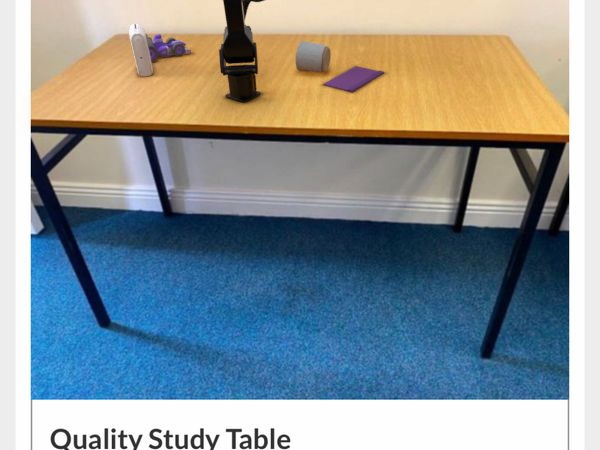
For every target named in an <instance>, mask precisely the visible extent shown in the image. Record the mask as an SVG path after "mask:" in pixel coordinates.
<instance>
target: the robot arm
mask: <svg viewBox="0 0 600 450" xmlns="http://www.w3.org/2000/svg"><path fill="white" fill-rule="evenodd" d="M222 1H223V8H224V15H225V22H226V23H225V24H226V26H225V27H224V32H223V34H222V35H223V38H222V43H221V44H220V48H219V50H218V54H219V55H218V56H219V57H218V58H219V69H220V74H222V76H227V81H228V90H229V93H226V94H225V98H226V99H227V98H228V99H231V100H234V101H237V102H239V103H246V102H249V101H250V100H253V99H255V98H257V97H258V96H260V95H262V93H261V91H258V90H257V89H258V87H257V79H256V75H258V74H259V62H258V61H259V60H258V47H257V45H258V44H257V42H256V41H255V42H254V36H253V31H252V27H251V26H250V25H246V22H245V21H246V17H247V13H248V9H249V5H250V4H251V2H252V3H261V2H264V1H266V0H222ZM253 63H254V64H253ZM227 64H228V65H227Z"/></svg>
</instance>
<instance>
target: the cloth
mask: <svg viewBox="0 0 600 450" xmlns="http://www.w3.org/2000/svg"><path fill="white" fill-rule="evenodd" d="M384 74H385V71H384V70H376V69H370V68H366V67H362V66H358V65H355V66H353V67H352V68H350V69H348V70H346V71H344V72H342V73H341V74H339V75H337V76H334V77H333V78H332V79H330V80H328V81H326V82H324V83H323V84H322V85H323V86H326V87H329V88H333V89H336V90H340V91H345V92H349V93H351V94H352V93H355V92H356V91H358V90H360V89H361V88H362V87H365V86H366V85H368V84H369V83H370V82H372V81H374V80H376V79H377V78H379V77H381V76H382V75H384Z"/></svg>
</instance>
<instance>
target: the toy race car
mask: <svg viewBox="0 0 600 450" xmlns="http://www.w3.org/2000/svg"><path fill="white" fill-rule="evenodd" d="M145 35H146V39H147V44H148V48H149V52H150V57H151V62H152V64H153V63H155V62H157V61H158V59H160V58H169V57H174V56H177V57H182V56H184V54H185V55H188V54H192V50H191V49H189V48H187V47H186V46H187V43H186V42H183V41H182V40H177V39H176V38H174V37H169V38H167V39H166V41H165V42H164V39H163V38H162V34H161V33H157V34H155V35H154V36H153V38H152V37H150V36H148V34H147V33H145Z"/></svg>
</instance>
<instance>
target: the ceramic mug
mask: <svg viewBox="0 0 600 450" xmlns="http://www.w3.org/2000/svg"><path fill="white" fill-rule="evenodd" d="M331 54H332V53H331V48H330V47H329V46H328V45H325V44H321V43H315V42H310V41H304V40H302V41H300V42H299V43H298V45H297V48H296V52H295V67H296V69H297V71H300V72H308V73H317V74H322V73H323V74H324V73H326V72H327V71H328V69H329V68H330V63H331V56H332V55H331Z"/></svg>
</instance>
